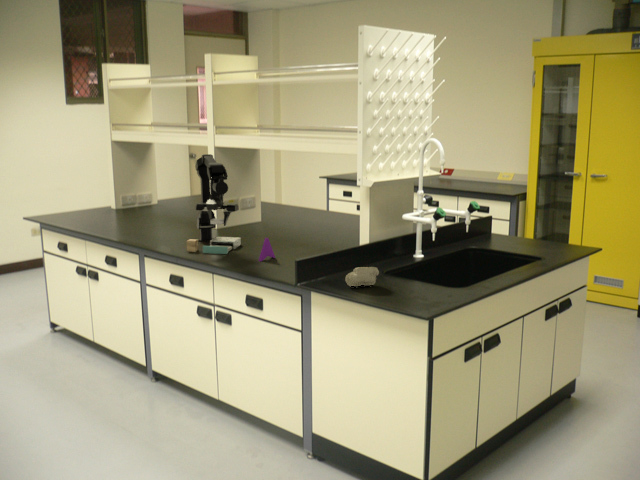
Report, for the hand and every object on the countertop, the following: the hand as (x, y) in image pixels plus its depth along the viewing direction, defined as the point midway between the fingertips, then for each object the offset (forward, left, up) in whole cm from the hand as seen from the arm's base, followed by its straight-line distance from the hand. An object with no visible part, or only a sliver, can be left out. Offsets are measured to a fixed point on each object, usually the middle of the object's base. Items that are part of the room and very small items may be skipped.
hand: (217, 225), depth 278 cm
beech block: (+2, -12, -12) cm, 17 cm away
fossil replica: (+47, +71, -12) cm, 86 cm away
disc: (0, 0, +1) cm, 1 cm away
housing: (-10, 0, -12) cm, 16 cm away
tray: (-1, 0, -12) cm, 12 cm away
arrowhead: (+12, +26, -12) cm, 31 cm away
